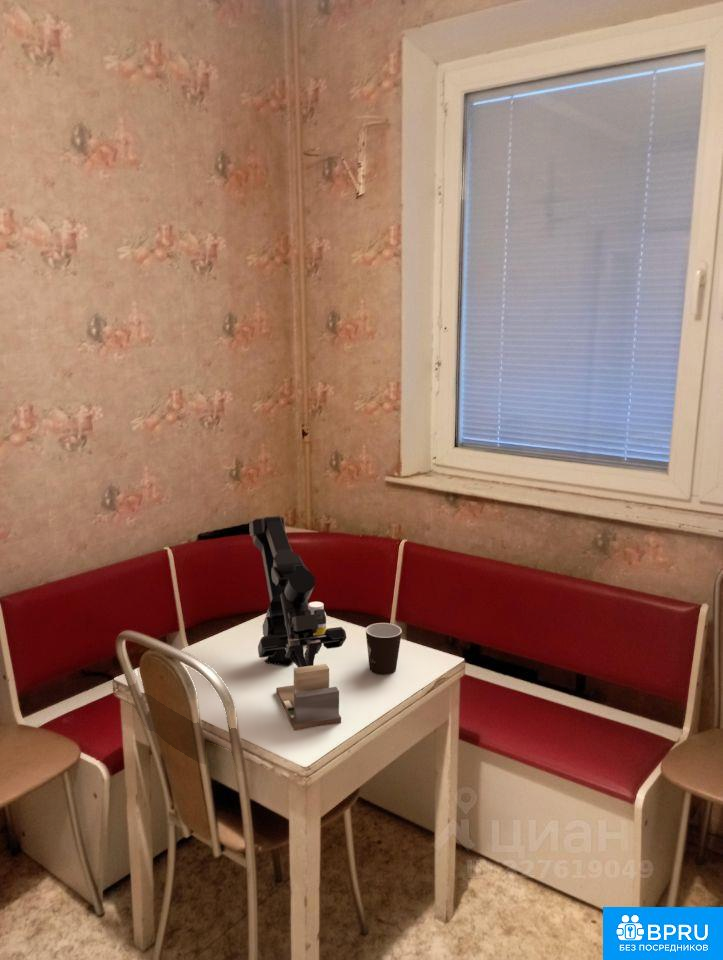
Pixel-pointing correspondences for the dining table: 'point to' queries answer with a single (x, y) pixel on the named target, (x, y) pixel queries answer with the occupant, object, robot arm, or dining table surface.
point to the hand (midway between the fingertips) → (309, 680)
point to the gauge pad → (310, 678)
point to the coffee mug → (383, 647)
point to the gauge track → (310, 706)
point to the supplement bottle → (312, 608)
